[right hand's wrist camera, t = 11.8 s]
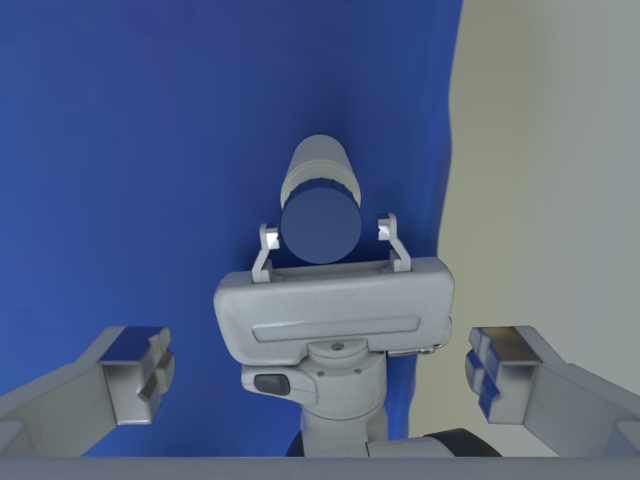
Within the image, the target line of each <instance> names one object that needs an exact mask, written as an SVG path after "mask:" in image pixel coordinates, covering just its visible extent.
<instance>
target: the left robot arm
mask: <svg viewBox="0 0 640 480" xmlns="http://www.w3.org/2000/svg"><path fill="white" fill-rule="evenodd" d="M375 220H376V223H377V224H376V234H377V236H378V239H379V240H389V241H390V243H391V244H392V246H393V247H394V250H390V260H382V261H369V262H356V263H343V264H331V265H318V266H305V267H292V268H280V269H273V268H272V262H271V260H270V259H267V260H266V258H267V255H268V253H269V251H270V249H278V248H280V243H281V241H282V239H281V233H280V232H279V231H280V224H279V222H277V223H263V224H261V226H260V239H261V246H262V247H261V249H260V251H259V253H258V256H257V258H256V260H255V263H254V266H253V268H252V271H241V272H230V273H227V274H226V275H225V276H224V278H223V279H222V280H221V282H220V283H219V285H218V287H217V289H216V291H215V294H214V308H215V312H216V316H217V320H218V324H219V327H220V330H221V333H222V336H223V339H224V341H225V344H226V346H227V348H228V350H229V352H230V354H231V355H232V356H233V357H234V358H235V359H236V360H237V361H238V362H240V363H242V364H243V365H242V374H241V380H242V385H243V387H244V388H245V389H246V390H248V391H251V392H256V393H261V394H267V395H272V396H276V397H281V398H285V399H288V400H292V401H295V402H298V403H299V404H300V406H301V408H302V413H301V419H300V426H301V431H300V432H299V433H298V434H297V436H296V437H295V438H294V440H293V442H292V444H291V446H290V448H289V449H288V451H287V453H286V455H285V457H503V456H502V455H501V454H500V453H498V452H497V451H496V450H495V449H494V448H493V447H491V446H490V445H489V444H487V443H486V442H485V441H483V440H482V439H480V438H479V437H477V436H476V435H474V434H472V433H471V432H469V431H467V430H465V429H463V428H458V429H453V430H448V431H443V432H438V433H432V434H427V435H424V436H423V437H416V438H406V439H396V440H388V417H387V412H386V409H385V407H384V401H385V398H386V393H387V368H386V358H387V357H396V356H406V355H411V354H423V355H424V354H431V353H434V352H435V349H438V348H441V347H442V346H444V345H445V344H446V343H448V342H449V341H450V338H451V325H452V321H451V318H450V313H451V308H452V303H453V296H454V286H455V282H454V278H453V275H452V274H451V272H450V270H449V269H448V268H447V266H446V265H445V264H444V263H443V262H442V261H441V260H440V259H439V258H437V257H420V258H411V257H410V256H409V254H408V252H407V250H406V248H405V246H404V245H403V243H402V242H401V240H400V239H399V237H398V236H397V221H396V216H395V215H394V213H384V214H376V215H375ZM435 344H436V345H435Z"/></svg>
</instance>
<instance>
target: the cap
mask: <svg viewBox="0 0 640 480" xmlns="http://www.w3.org/2000/svg"><path fill="white" fill-rule="evenodd" d="M359 211H360V209H359V206H358V203H357V201H355V198H354V196H353V193H352V191H351V192H350V191H349V190H348V189H347V188H346V187H345V185H344V184H341V183H339V182H337V181H335V180H334V179H328V178H322V177H321V178H314V179H311V178H310V179H309V180H307V181H305V182H303V183H301V184H300V183H299V185H298V186H297V187H296V188H295V189H293V191H290V195H289V196H288V198H287V200H285V203H284V206H283V212H282V215H281V219H280V222H281V234H282V237H283V240H284V242H285V244H286V245H287V247H288V248H289V249H290V251H291V252H292V253H294V254H295V255H296V256H297V257H299V258H301V259H302V260H305V261H307V262H311V263H316V264H326V263H331V262H335V261H338V260H340V259H342V258H343V257H345V256H346V255H348V254H349V253H350V252H351V251H352V250H353V249H354V247H355V246H356V244H357V242H358V241H359V238H360V235H361V230H362V219H361V216H360V213H359Z"/></svg>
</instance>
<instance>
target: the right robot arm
mask: <svg viewBox="0 0 640 480" xmlns="http://www.w3.org/2000/svg"><path fill="white" fill-rule="evenodd" d="M170 342H171V337H170V332H169V329H168V328H167V327H152V326H110V327H106V328H105V330H104V331H103V332H102V333H101V334H100V335H99V336H98V337H97V338H96V339H95V341H94V342H93V343H92V344H91V345H90V346H89V347H88V348H87V349H86V350H85V352H84V353H83V354H82V355H81V356H80V357H79V358H78V359H77V360H76V361H75V363H74V364H66V365H64V366H62V367H59V368H57V369H55V370H53V371H51V372H49V373H47V374H45V375H43V376H41V377H39V378H37V379H35V380H33V381H31V382H29V383H26V384H24V385H22V386H20V387H18V388H16V389H14V390H12V391H10V392H8V393H6V394H4V395H2V396H0V480H640V396H638V395H636V394H634V393H632V392H630V391H628V390H626V389H624V388H622V387H620V386H618V385H615V384H613V383H611V382H609V381H607V380H605V379H603V378H601V377H599V376H597V375H595V374H593V373H591V372H589V371H587V370H585V369H583V368H581V367H578V366H576V365H574V364H566V363H565V362H564V360H563V359H562V358H561V357H560V356H559V355H558V354H557V353H556V352H555V350H554V349H553V348H552V347H551V346H550V345H549V344H548V343H547V342H546V341H545V339H544V338H543V337H542V336H541V335H540V334H539V333H538V332H537V331H536V329H535V328H533V327H531V326H510V327H473V328H472V330H471V332H470V337H469V342H470V343H471V345H472V347H473V348H472V350H471V351H470V352H469V353H468V354H467V355H466V363H465V368H466V377H467V380H468V384H469V386H470V388H471V390H472V391H473V392H475V393H476V394H478V395H479V396H480V397H479V402H478V404H479V406H480V408H481V410H482V412H483V414H484V415H485V417H486V419H487V421H488V423H489V424H513V425H524V427H525V428H526V429H527V430H528V431H530V432H531V433H532V434H533V435H535V436H536V437H537V438H538V439H539V440H541V441H542V442H543V443H544V444H546V445H547V446H548V447H549V448H550V449H552V450H553V451H554V452H555V453H556V454H558V455H559V456H560V457H80V456H81V455H83V454H84V453H85V452H86V451H87V450H89V449H90V448H91V447H92V446H93V445H95V444H96V443H97V442H98V441H100V440H101V439H102V438H103V437H104V436H106V435H107V434H108V433H109V432H110V431H112V430H113V429H114V428H115V427H116V425H127V424H151V423H152V421H153V419H154V417H155V416H156V414H157V412H158V410H159V408H160V406H161V404H162V402H161V397H160V396H161V395H162V394H164V393H165V392H167V391H168V390H169V388H170V386H171V384H172V381H173V376H174V371H175V362H174V355H173V354H172V353H171V352H170V351H169V350H168V348H167V347H168V345H169V344H170Z"/></svg>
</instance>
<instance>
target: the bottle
mask: <svg viewBox="0 0 640 480" xmlns="http://www.w3.org/2000/svg"><path fill="white" fill-rule="evenodd" d="M321 177H322V178H328V179H334V180H335V181H337V182H339V183H341V184H344V185H345V187H346V188H347V189H348V190H349V191H350V192H351V191H352V193H353V196H354V198H355V201H357V203H358V206H359V207H360V202H361V194H360V188H359V185H358V183H357V180H356V178H355V175H354V173H353V170H352V168H351V165H350V163H349V160H348V158H347V155H346V153H345V150H344V148H343V147H342V145H341V144H340V143H339V142H338V141H337V140H335V139H334V138H332V137H330V136H327V135H313V136H310V137H308V138H306V139H304V140H303V141H302V142H301V143H300V144H299V145H298V146H297V148H296V150H295V152H294V155H293V157H292V160H291V163H290V166H289V169H288V172H287V175H286V177H285V180H284V183H283V186H282V190H281V206H282V210H283V206H284V203H285V200H287V198H288V196H289V195H290V191H293V189H295V188H296V187H297V186H298V185H299V183H300V184H301V183H303V182H305V181H307V180H309V179H310V178H311V179H314V178H321Z"/></svg>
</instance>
